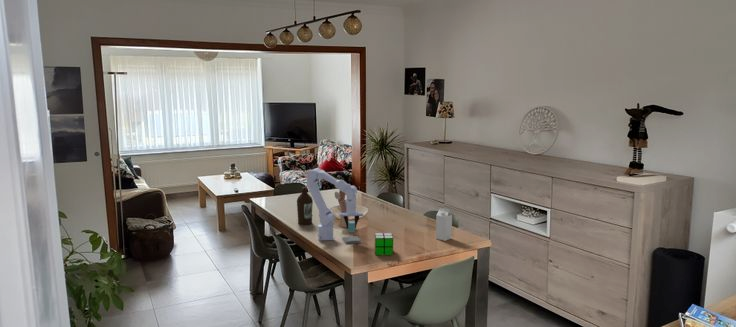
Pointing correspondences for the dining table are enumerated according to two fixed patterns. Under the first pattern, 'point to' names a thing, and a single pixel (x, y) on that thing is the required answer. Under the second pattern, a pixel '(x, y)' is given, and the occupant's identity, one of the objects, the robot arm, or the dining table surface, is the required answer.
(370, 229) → the dining table surface
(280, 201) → the dining table surface
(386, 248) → the puzzle cube
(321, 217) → the robot arm
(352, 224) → the teal block
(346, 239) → the gray block
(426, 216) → the dining table surface
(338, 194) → the brown statue
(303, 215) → the olive oil
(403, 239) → the dining table surface
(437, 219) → the milk carton
